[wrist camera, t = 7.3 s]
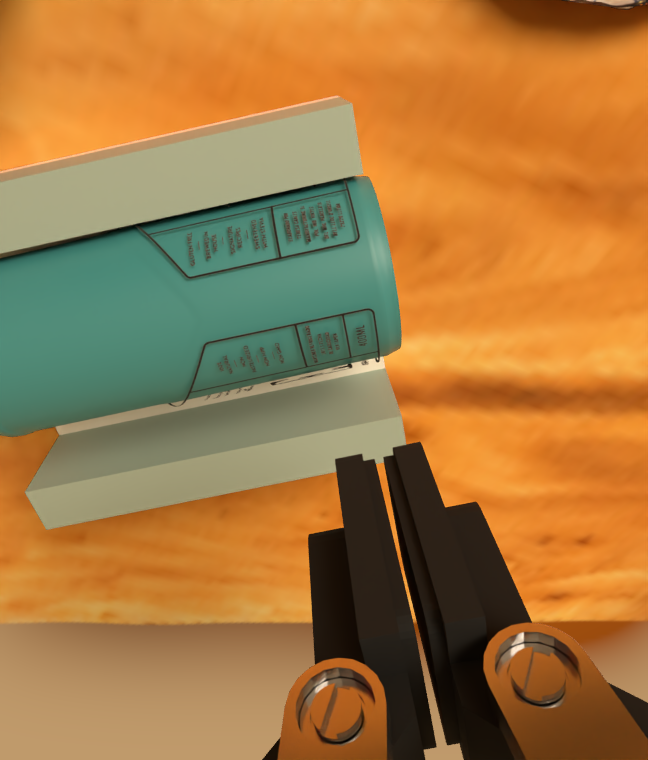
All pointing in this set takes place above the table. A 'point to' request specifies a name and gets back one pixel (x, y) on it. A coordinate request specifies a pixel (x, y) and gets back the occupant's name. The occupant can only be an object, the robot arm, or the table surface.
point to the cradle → (214, 415)
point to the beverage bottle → (196, 306)
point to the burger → (614, 3)
